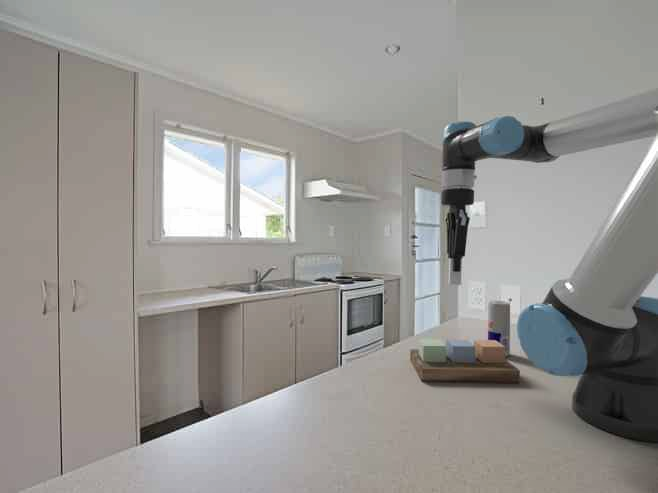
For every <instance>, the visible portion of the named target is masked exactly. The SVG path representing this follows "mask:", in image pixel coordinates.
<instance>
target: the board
mask: <svg viewBox="0 0 658 493" xmlns="http://www.w3.org/2000/svg"><path fill="white" fill-rule="evenodd" d="M409 357H410V359H409V360H410V362H411V364H412V366H413V368H414V369H415V371H416V374H417V376H418V377H419V379H420V381H421V382H424V383H425V382H427V383H431V382H433V383H475V384H476V383H477V384H478V383H481V384H485V383H486V384H488V383H489V384H520V382H521V380H520V379H521V378H520V377H521V376H520V372H521V371H520V369H518V368H517V367H516V366H515V365H513V364H512V363H511V362H509V361H508V360H506V359H505V363H482V362H480V361H479V360H478V359H477V358H476V357H475V363H453V362H452V361H451V360H450V359H449V358H448V357H447V355H446V362H423V361H422V359H421V358H420V356H419V348H418V349H416V348H410V356H409Z"/></svg>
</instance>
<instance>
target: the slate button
mask: <svg viewBox="0 0 658 493" xmlns="http://www.w3.org/2000/svg"><path fill="white" fill-rule="evenodd" d="M445 345H446V355H447V357H448V358H449V359H450V360H451V361H452V362H453V363H475V351H476V346H474V343H472V342H471V341H469V339H446V340H445Z"/></svg>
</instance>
